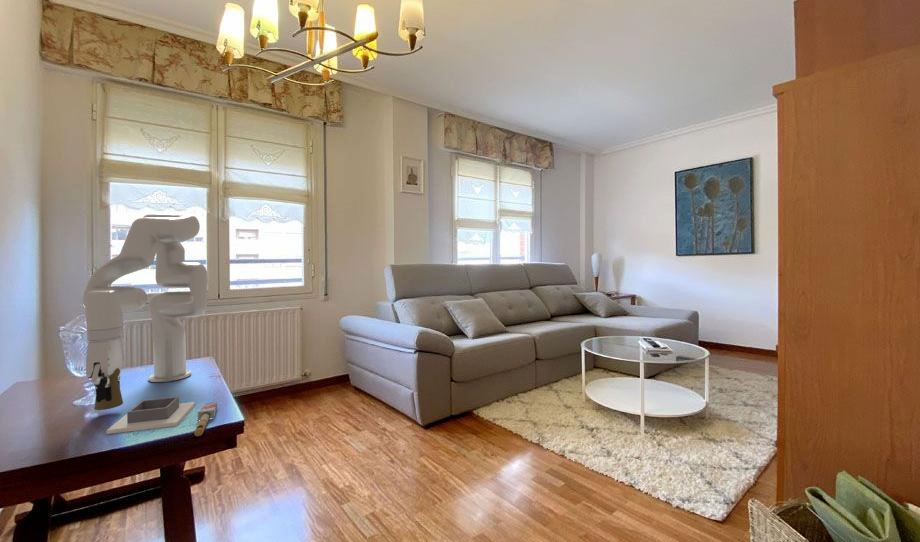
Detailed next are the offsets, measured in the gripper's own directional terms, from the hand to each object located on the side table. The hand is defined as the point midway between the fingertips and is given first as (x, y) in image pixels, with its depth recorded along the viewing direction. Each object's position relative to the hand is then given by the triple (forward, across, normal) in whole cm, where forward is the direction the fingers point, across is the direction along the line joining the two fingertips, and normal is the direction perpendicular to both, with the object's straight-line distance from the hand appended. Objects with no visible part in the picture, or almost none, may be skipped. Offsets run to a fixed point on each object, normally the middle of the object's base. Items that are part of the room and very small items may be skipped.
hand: (108, 397), depth 110 cm
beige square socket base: (+4, +8, +13) cm, 16 cm away
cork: (+3, 0, 0) cm, 3 cm away
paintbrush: (+5, +14, +27) cm, 31 cm away
